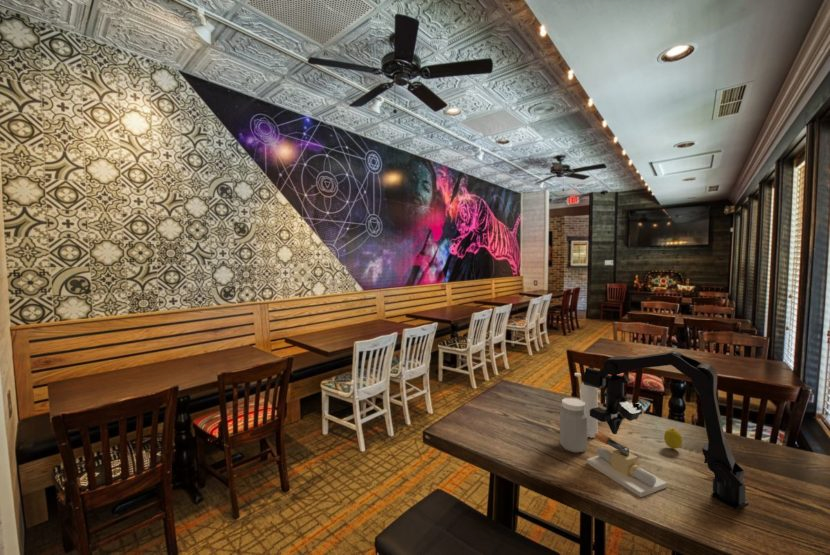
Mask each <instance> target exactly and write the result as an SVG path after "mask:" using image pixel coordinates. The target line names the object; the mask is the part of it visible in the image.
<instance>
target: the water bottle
mask: <svg viewBox="0 0 830 555" xmlns="http://www.w3.org/2000/svg"><path fill="white" fill-rule="evenodd" d="M574 376H575V377H578V378H580V377H582V374H581V373H580V372H574ZM579 387H580V400H582V401H583V402H585V413H586V414H587V438H589V437H590V439H591V438H594V439H596V438H595V434H596V433H599V431H598V430H599V429H598V428H599V425H598V423H599V422H598V421H599V420H597V419H595V418H593V417H591V416H590V409H592V408H596V407H599V406H598V405H599V404H598V403H599V402H598V401H599V393H598V392H599V388H595V387H591V386H587V385H584V383H583V381H582V382H581V383H580V386H579Z"/></svg>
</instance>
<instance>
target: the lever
mask: <svg viewBox="0 0 830 555" xmlns="http://www.w3.org/2000/svg"><path fill="white" fill-rule="evenodd" d="M594 439H596V440H597V441H599V442H602V443H604V444H605V445H609V446H611V447H612V448H614V449H616V450H619V451H620V453H621V454H622V455H625V456H628V455H629V453H630V448H629V447H627V446H624V445H622V444H620V443H618V442H616V441H614V440H613V439H612V438H611V437H609V436H607V435H605V434H603V433H602V432H598V433H596V434H595V438H594Z"/></svg>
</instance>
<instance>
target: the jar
mask: <svg viewBox="0 0 830 555" xmlns="http://www.w3.org/2000/svg"><path fill="white" fill-rule="evenodd" d="M559 443H560V445H561V447H562V448H563V449H564V450H566V451H568V452H570V451H571V452H570V453H575V454H576V453H577V452H578V453H579V452H581V453H584V452H585V451H586V450H587V449H588V437H587V414H586V413H585V402H583V401H582V400H581V398H580V399H579V398H575V397H565V398H562V400H561V410H560V411H559ZM578 453H577V454H578ZM579 454H580V453H579Z"/></svg>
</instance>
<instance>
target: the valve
mask: <svg viewBox="0 0 830 555" xmlns="http://www.w3.org/2000/svg"><path fill="white" fill-rule="evenodd" d="M596 453H597V455H596V456H591V457H589V458H586V464H587V465H589V466H591V467H592V468H594V469H596V470H597V471H599V472H600V473H602V474H603V475H605V476H606V477H608V478H609V479H611V480H613V481H615V483H617V484H619V485H620V486H622V487H624V488H625V489H626V490H628V491H630V492H631V493H633V494H634V495H636V496H638V497H640V498H643V497H645V496H648V495H650V494H653V493H655V492H658V491H661V490H664V489H666V488H668V482H667V481H665V480H663V479H661V478H660V477H658V476H656V475H654V474H652V473H650V472H648V471H647V470H645V469H643V468H641V467H640V466H639V464H638V463H639V462H638V459H639V458H638V456H637V455H635V454H633V453H631V452H629V455H628V456H625V455H622V454H621V453H620V451H619V450H617V449H616V450H613V451H609V450H608V449H606V448H604V447H603V446H602V447H601V446H600V447H599V448H597V452H596Z"/></svg>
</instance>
